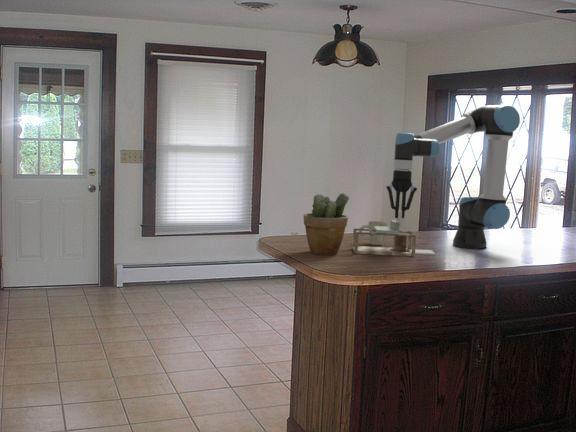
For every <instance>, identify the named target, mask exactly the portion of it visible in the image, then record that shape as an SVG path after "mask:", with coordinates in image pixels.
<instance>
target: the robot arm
mask: <svg viewBox="0 0 576 432" xmlns="http://www.w3.org/2000/svg"><path fill="white" fill-rule="evenodd" d="M520 122H521V118H520V114H519V112H518V110H517V109H516V107H514V106H512V105H509V104H494V105H492V104H489V105H483V106H481V107H478V108H476V109H473V110H471V111H469V112H466V113H464V114H463V115H462V116H461V117H459V118H456V119H454V120H452V121H449V122H446V123H444V124H441V125H438V126H436V127H433V128H430V129H429V130H426V131H423V132H420V133H418V134H414V133H412V132H411V133H410V132H398V133H396V135H395V142H394V160H393V162H394V163H393V169H394V170H393V174H392V181H391V184H388V185H386V187H385V188H386V190H387V192H388V193H387V194H388V198H389V203H390V208H391V209H392V210H394V218H395V219H396V221H397V222H398V223H399V228H400V227H402V222H403V221H402V220H403V219H404V218H405V214H406V213H405V212H406V211H408V210H410V208H411V204H412V201H413V199H414V196H415V193H416V191H418V188H417V187H415V186H414V185H413V183H412V173H413V171H412V169H413V158H414V157H423V158H425V157H426V158H434V157H437V156H438V155H439V154H440V151H441V146H440V145H441V144H443V143H446V142H448V141H451V140H453V139H456V138H459V137H461V136H464V135H466V134H468V135H473V134H475V133H481V132H485V133H484V135H485V138H487V140H488V141H487V148H486V160H485V166H484V167H485V169H484V177H483V178H484V179H483V187H482V194H480V195H479V196H462V197H461V198H460V200H459V208H458V219H457V220H458V223H457V230H456V232H455V234H454V238H453V240H452V245H453V246H454V247H459V248H464V249H465V248H466V249H472V248H483V249H485V248H484V247H486V248H487V244H488V243H487V239H486V238H487V237H486V235H485V228H486V229H490V230H499V229H501V228H503V227H504V226H505V225H507V223H508V222H509V221H510V220H509V219H510V218H511V217H510V216H511V212H510V208H509V206H507V205H506V202H507V198H506V197H505V196H504V188H505V187H504V186H505V178H506V177H505V176H506V167H507V160H508V150H509V149H508V148H509V140H510V139H512V138H513V137H514V131H516V130H517V128H519V126H520ZM510 141H511V140H510ZM393 189H394V191H395V201H394V195H393V191H392V190H393ZM409 190H410V192H409V195H408V199H407V197H406V196H407V192H408V191H409ZM400 197H401V198H400ZM400 199H401V208H400ZM406 199H407V201H406ZM400 209H401V210H400Z"/></svg>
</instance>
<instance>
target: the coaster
mask: <svg viewBox="0 0 576 432" xmlns="http://www.w3.org/2000/svg"><path fill="white" fill-rule="evenodd" d="M411 250H412V248H411ZM415 255H425V256H426V255H427V256H436V253H435V252H434V251H433V250H431V249H417V248H415Z"/></svg>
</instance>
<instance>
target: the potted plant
mask: <svg viewBox="0 0 576 432" xmlns="http://www.w3.org/2000/svg"><path fill="white" fill-rule="evenodd" d="M349 200H350V197H349V195H347V194H346V193H344V192H342V193H339V195H338V196H337V197H336V200H331V199H330V197H329V196H324V195H323V194H320V193H318V194H315V195H314V196H313V203H312V210H311V212H308V213H307V212H306V213H303V214H302V215H303V224H304V228H305V234H306V240H307V244H308V248H309V252H310V253H311V254H314V255H318V254H319V255H320V256H333V255H337V254H338V253H339V250H340V247H341V246H342V245H341V244H342V241H343V239H344V234H345V232H346V228H347V225H348V220H349V216H348V215H346V214H343V213H344V210H345V208H346V204H347V203H348V201H349Z"/></svg>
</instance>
